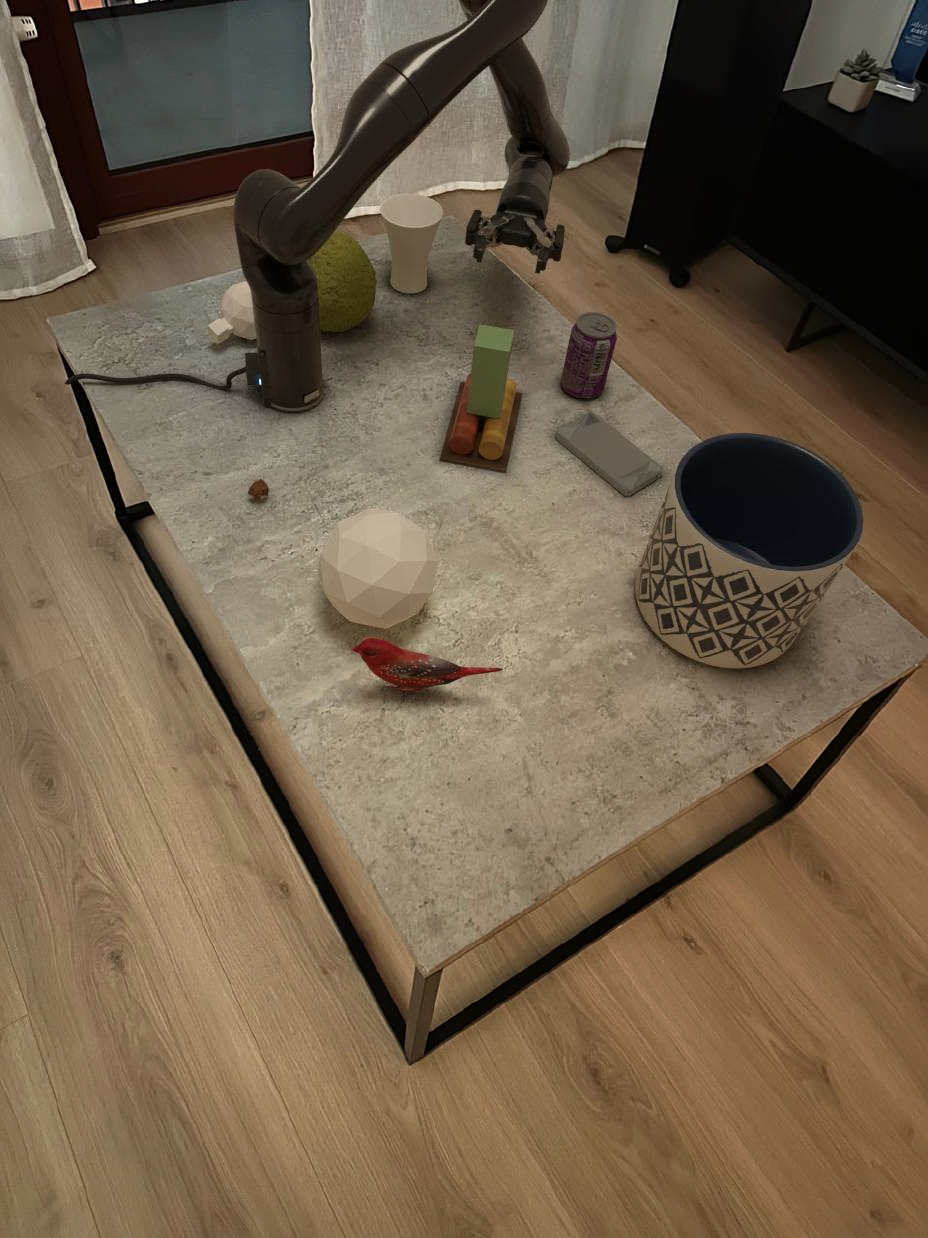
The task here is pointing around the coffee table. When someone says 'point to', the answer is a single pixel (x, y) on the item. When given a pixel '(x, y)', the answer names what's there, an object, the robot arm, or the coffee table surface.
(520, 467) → the coffee table surface
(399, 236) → the cup
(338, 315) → the fruit
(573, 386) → the beverage can
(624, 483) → the phone
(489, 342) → the green bar
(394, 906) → the coffee table surface
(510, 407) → the rod rack
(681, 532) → the planter
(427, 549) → the geometric sphere
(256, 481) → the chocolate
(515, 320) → the coffee table surface
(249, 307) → the perfume bottle
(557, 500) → the coffee table surface
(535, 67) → the robot arm
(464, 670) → the decorative bird figurine
